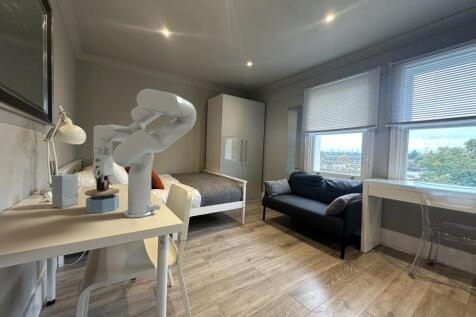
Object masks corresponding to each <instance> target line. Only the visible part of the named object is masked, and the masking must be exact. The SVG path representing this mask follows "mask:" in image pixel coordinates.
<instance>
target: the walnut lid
mask: <svg viewBox="0 0 476 317" xmlns="http://www.w3.org/2000/svg"><path fill="white" fill-rule="evenodd" d="M104 182H105V183H104V190H103V191H97V190H96V188H93V189H90V190H85V191H84V195H85V196H86V197H91V196H106V195H113V194H115V195H117V194H118V193H120V189H119V188H115V187H114V188H112V187H109V188H108V189H107V180H104Z"/></svg>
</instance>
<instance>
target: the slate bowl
mask: <svg viewBox="0 0 476 317" xmlns="http://www.w3.org/2000/svg"><path fill="white" fill-rule="evenodd" d="M119 202H120V196H119V195H118V194H113V195H106V196H87V198H85V212H87V213H89V214H105V213H110V212H113V211H116V210H117V209H119V207H120V204H119Z"/></svg>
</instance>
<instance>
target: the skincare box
mask: <svg viewBox="0 0 476 317" xmlns="http://www.w3.org/2000/svg"><path fill="white" fill-rule="evenodd" d="M78 176H79V175H78V174H73V173H72V174H69V173H68V174H55V175H51V207H52V208H60V209H64V208H68V207H72V206H75V205H78V204H79V183H78V182H79V177H78Z"/></svg>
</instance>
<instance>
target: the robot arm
mask: <svg viewBox="0 0 476 317" xmlns="http://www.w3.org/2000/svg"><path fill="white" fill-rule="evenodd" d="M136 103H137V106H136V107H134V108H133V109H131V111H130V115H131V118H132V120H133V121H134V122H132V123H130V124H129V125H128V126H123V125H117V124H106V125H101V124H99V125H94V127H93V165H92V174H93V177H94V179H95V182H96V187H95V189H96V190H97V191H103V190H104V183H105V182H104V180H107V189H108V188H110V176H111V175H113V174H114V163H115V164H116V165H118V166H119V167H123V168H128V167H130V168H129V170H128V173H127V174H128V175H127V209H126V210H125V211H124V212H123V216H124V217H126V218H130V219H131V218H135V219H137V218H144V217H148V216H151V215H153V214H154V213H155V211H160V210H161V205H160V204H153V201H152V170H153V165H154V164H153V163H154V159H155V157H154V156H155V154H156V153H162V152H164V151H165V150H166V149H167V148H169V147H170V146H172V145H173V144H174V143H176V141H178V140H179V139H181V138H182V137H183V136H184V135H186V134H188V132H189V131H191V130H192V129H193V127H194V126H195V124H196V120H197V110H196V108H195V106H194V104H192V102H190V101H188V100H186V99H184V98H182V97H181V96H180V95H177V94H175V93H172V92H167V91H162V90H157V89H152V88H145V89H144V88H143V89H141V90H140V91H139V92H138V94H137V95H136ZM162 115H166V116H169V117H173V119H172V120H168V121H167V122H165V123H164V124H163V125H161V126H160V127H159V128H157V129H155V130H153V129H146V126H147V125H148V124H150V123H151V122H153V121H155V120H156V119H158V118H160V116H162ZM113 142H120V143H119V144H118V145H117V146H116V148H114V150H113V145H114V144H113Z"/></svg>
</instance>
